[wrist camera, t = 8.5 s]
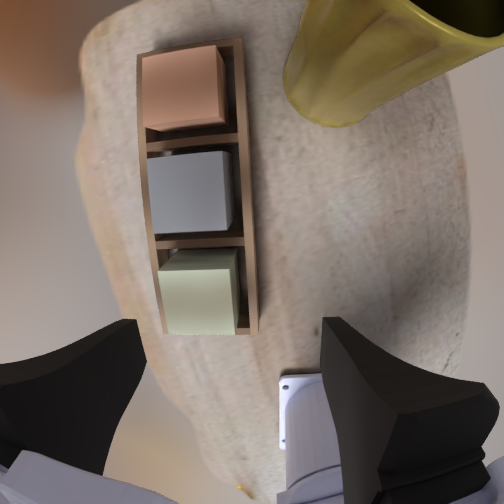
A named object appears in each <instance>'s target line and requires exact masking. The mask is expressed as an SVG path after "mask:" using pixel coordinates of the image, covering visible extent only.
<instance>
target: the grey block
mask: <svg viewBox="0 0 504 504" xmlns="http://www.w3.org/2000/svg"><path fill="white" fill-rule="evenodd" d="M147 172H148V185H149V196H150V206H151V216H152V225H153V233H154V234H158V233H176V232H196V231H217V230H227V229H228V228H229V226H230V225H231V223H232V221H233V220H234V218H235V205H234V188H233V171H232V154H231V153H228V152H224V151H215V152H203V153H193V154H183V155H174V156H166V157H158V158H150V159H147Z"/></svg>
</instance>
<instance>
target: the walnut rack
mask: <svg viewBox="0 0 504 504" xmlns="http://www.w3.org/2000/svg"><path fill="white" fill-rule="evenodd" d="M227 57H234V71H235V89H236V107H237V125H238V133H230V134H218V135H207V136H198V137H189V138H180V139H173V140H165V141H158V142H157V130H158V131H162V132H166V133H170V132H178V131H186V130H194V129H203V128H213V127H223V126H229V113H228V95H227V75H226V66H225V64H224V62H223V59H222V58H227ZM137 127H138V147H139V163H140V176H141V187H142V197H143V207H144V216H145V224H146V232H147V240H148V247H149V254H150V261H151V268H152V274H153V280H154V286H155V292H156V297H157V303H158V308H159V313H160V319H161V324H162V328H163V333H164V334H179V335H258V334H259V301H258V282H257V264H256V245H255V227H254V209H253V191H252V173H251V155H250V138H249V121H248V104H247V87H246V70H245V53H244V46H243V42H242V38H233V39H223V40H214V41H207V42H199V43H193V44H187V45H181V46H175V47H170V48H165V49H160V50H155V51H151V52H146V53H142V54H138V55H137ZM234 144H239V159H240V176H241V193H242V209H243V225H244V230H231V231H210V232H191V233H173V234H165V233H158V234H154V233H153V225H152V216H151V206H150V196H149V185H148V172H147V159H150V158H158V152H165V151H173V150H181V149H190V148H200V147H210V146H221V145H234ZM223 246H245V257H246V272H247V288H248V303H249V314H239V313H240V308H241V296H240V283H239V270H238V256H237V249H213V250H188V251H177V252H176V253H175V254H174V255H173V256H172V257H171V258H170V259H169V258H168V250H167V249H176V248H199V247H223Z"/></svg>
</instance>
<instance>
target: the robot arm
mask: <svg viewBox="0 0 504 504" xmlns="http://www.w3.org/2000/svg"><path fill="white" fill-rule="evenodd" d="M146 362H147V360H146V356H145V352H144V349H143V345H142V341H141V337H140V333H139V329H138V324H137V320H136V319H122V320H119V321H116V322H114V323H112V324H110V325H108V326H106V327H104V328H102V329H100V330H98V331H96V332H94V333H92V334H90V335H88V336H86V337H84V338H82V339H80V340H78V341H76V342H74V343H72V344H70V345H67V346H65V347H63V348H61V349H58V350H56V351H53V352H50V353H47V354H45V355H41V356H38V357H34V358H30V359H27V360H22V361H18V362H12V363H5V364H0V504H179V503H177V502H175V501H173V500H171V499H169V498H167V497H165V496H163V495H161V494H159V493H157V492H155V491H152V490H148V489H145V488H142V487H139V486H136V485H133V484H130V483H126V482H122V481H118V480H114V479H110V478H107V477H104V476H102V475H103V471H104V467H105V463H106V459H107V456H108V452H109V448H110V445H111V442H112V439H113V436H114V434H115V431H116V428H117V426H118V423H119V421H120V419H121V417H122V415H123V413H124V411H125V409H126V408H127V406H128V404H129V402H130V400H131V398H132V396H133V394H134V392H135V390H136V388H137V386H138V384H139V382H140V380H141V378H142V375H143V372H144V369H145V366H146ZM320 366H321V373H317V374H301V375H284V376H282V377H280V379H279V447H280V448H281V449H284V450H286V491H284V492H280V493H277V504H504V456H503V457H501V458H499V459H497V460H495V461H493V462H492V463H491V464H489V465H488V466H487V467H486V468H485V466H484V464H483V462H482V460H483V459H484V457H485V452H484V451H483V449H482V447H481V446H482V445H483V443H484V442H485V440H486V438H487V437H488V435H489V433H490V432H491V430H492V428H493V427H494V425H495V423H496V420H497V418H498V415H499V409H500V406H499V403H498V401H497V399H496V398H495V397H494V395H493V394H492V393H491V392H490V390H489V389H488V388H487V387H486V385H485V384H484V383H480V382H473V381H466V380H459V379H454V378H450V377H446V376H442V375H439V374H435V373H432V372H429V371H426V370H424V369H421V368H418V367H416V366H413V365H411V364H409V363H406V362H404V361H402V360H401V359H399V358H397V357H395V356H393V355H391V354H389V353H388V352H386V351H384V350H383V349H381V348H380V347H378V346H377V345H375V344H374V343H372V342H371V341H369V340H368V339H367V338H365V337H364V336H363V335H361V334H360V333H359V332H358V331H356V330H355V329H354V328H353V327H351V326H350V325H349V324H348V323H347V322H345V321H344V320H343V319H342V318H340V317H339V316H338V317H323V321H322V339H321V355H320ZM284 385H288V386H287V387H284Z"/></svg>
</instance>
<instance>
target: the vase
mask: <svg viewBox="0 0 504 504" xmlns="http://www.w3.org/2000/svg"><path fill="white" fill-rule="evenodd" d="M503 46H504V0H307V1H306V4H305V6H304V9H303V11H302V14H301V17H300V23H299V28H298V33H297V37H296V40H295V42H294V44H293V46H292V48H291V51H290V53H289V56H288V60H287V62H286V64H285V66H284V70H283V85H284V90H285V93H286V96H287V98H288V100H289V101H290V103H291V104H292V106H293V107H294V108H295V109H296V110H297V111H298V112H299V113H300V114H301V115H302V116H304V117H305V118H306V119H308V120H310V121H312V122H314V123H316V124H319V125H322V126H326V127H334V128H338V127H346V126H350V125H353V124H356V123H358V122H360V121H361V120H363V119H364V118H365V117H366V116H367V115H368V114H369V113H370V112H371V111H373V110H374V109H376V108H377V107H379V106H380V105H382V104H384V103H385V102H387V101H389V100H391V99H393V98H395V97H397V96H399V95H401V94H403V93H405V92H406V91H408V90H410V89H412V88H414V87H416V86H418V85H420V84H422V83H424V82H426V81H428V80H430V79H432V78H434V77H436V76H438V75H441V74H443V73H445V72H447V71H450V70H452V69H454V68H456V67H458V66H460V65H462V64H464V63H466V62H468V61H471V60H473V59H475V58H477V57H479V56H481V55H483V54H485V53H487V52H490V51H492V50H494V49H497V48H500V47H503Z"/></svg>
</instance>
